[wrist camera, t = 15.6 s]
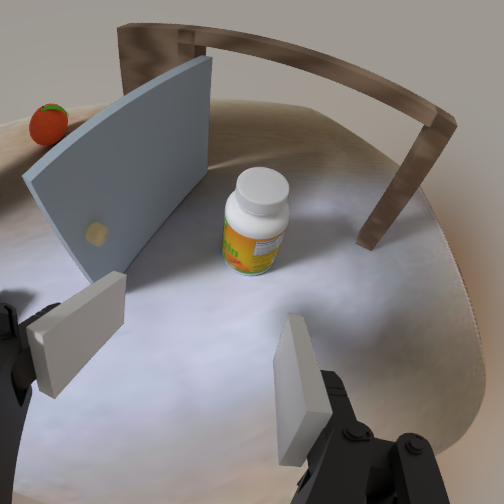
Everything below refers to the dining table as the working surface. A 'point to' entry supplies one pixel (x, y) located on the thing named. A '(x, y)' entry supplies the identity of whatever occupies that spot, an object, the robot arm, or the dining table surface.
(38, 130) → the clementine
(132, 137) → the door
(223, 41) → the door frame
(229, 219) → the supplement bottle
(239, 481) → the dining table surface
